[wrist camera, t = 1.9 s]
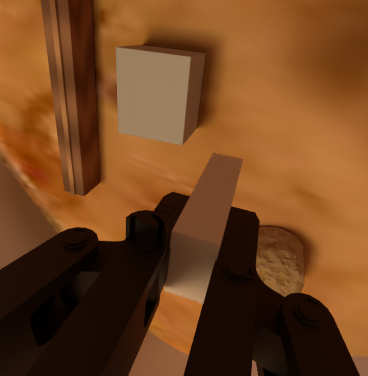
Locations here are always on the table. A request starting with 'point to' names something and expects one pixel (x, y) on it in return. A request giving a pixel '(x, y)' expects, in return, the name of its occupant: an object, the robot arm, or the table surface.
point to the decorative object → (280, 260)
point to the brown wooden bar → (73, 90)
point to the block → (158, 92)
